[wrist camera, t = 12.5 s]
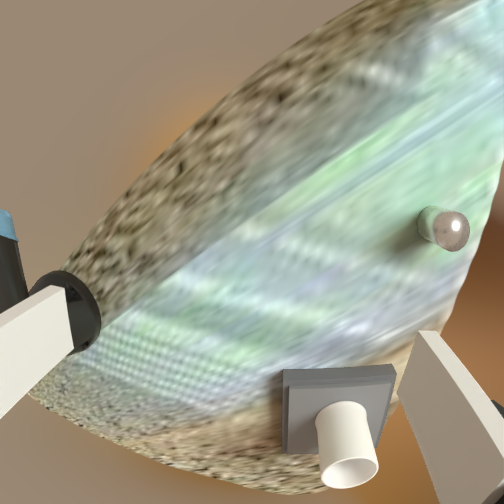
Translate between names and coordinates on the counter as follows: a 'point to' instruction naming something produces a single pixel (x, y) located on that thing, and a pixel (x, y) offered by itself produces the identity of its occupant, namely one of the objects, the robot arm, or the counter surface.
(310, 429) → the podium
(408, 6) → the counter surface
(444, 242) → the spice tin
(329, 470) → the mug
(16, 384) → the robot arm
